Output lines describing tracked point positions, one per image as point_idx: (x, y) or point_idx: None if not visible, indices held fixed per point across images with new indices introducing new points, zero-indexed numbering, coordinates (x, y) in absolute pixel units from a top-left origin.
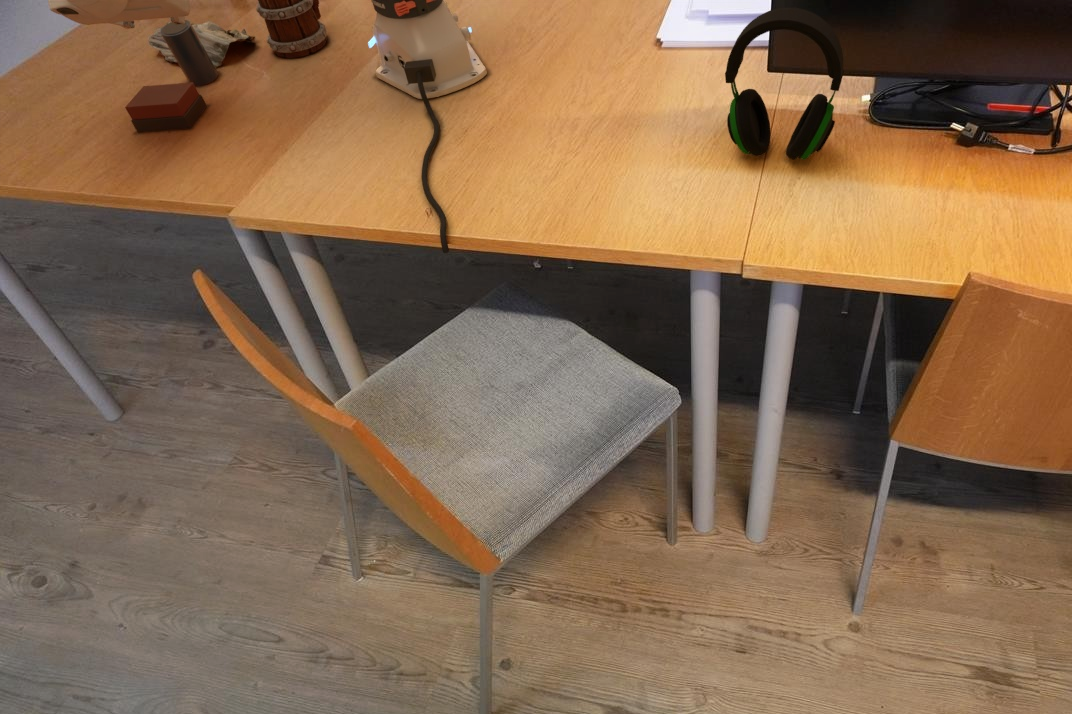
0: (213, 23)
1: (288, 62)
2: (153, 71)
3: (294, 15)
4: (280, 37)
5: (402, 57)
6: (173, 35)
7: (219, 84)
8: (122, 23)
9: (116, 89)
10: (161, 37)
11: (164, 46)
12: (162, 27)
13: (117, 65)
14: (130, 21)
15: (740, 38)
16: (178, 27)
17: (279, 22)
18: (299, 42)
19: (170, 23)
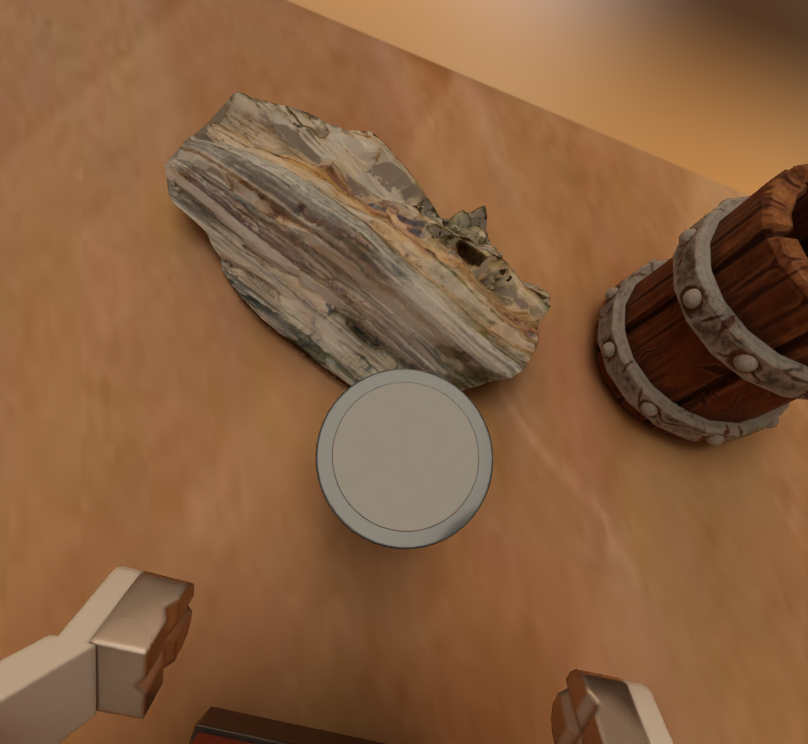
0: (397, 162)
1: (665, 464)
2: (178, 330)
3: None
4: (701, 404)
5: None
6: (406, 548)
7: (451, 548)
8: (88, 706)
9: (31, 423)
10: (220, 191)
11: (224, 223)
12: (231, 156)
13: (41, 229)
14: (166, 636)
15: None
16: (428, 466)
17: (763, 389)
18: (749, 432)
19: (372, 397)
